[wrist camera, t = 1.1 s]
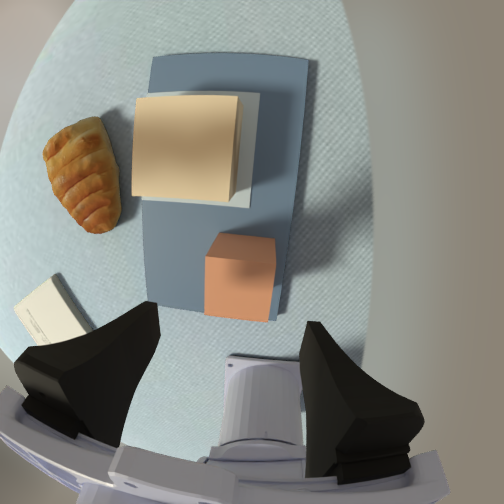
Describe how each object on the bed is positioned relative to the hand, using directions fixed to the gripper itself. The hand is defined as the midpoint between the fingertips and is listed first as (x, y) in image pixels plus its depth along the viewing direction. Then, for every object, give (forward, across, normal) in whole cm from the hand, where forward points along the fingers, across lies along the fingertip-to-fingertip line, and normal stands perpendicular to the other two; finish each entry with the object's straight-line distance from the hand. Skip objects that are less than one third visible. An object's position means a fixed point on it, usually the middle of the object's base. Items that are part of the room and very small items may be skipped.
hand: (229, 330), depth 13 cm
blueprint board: (+9, +2, -5) cm, 11 cm away
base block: (+8, +4, -8) cm, 12 cm away
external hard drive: (+10, +23, +11) cm, 27 cm away
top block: (+8, 0, 0) cm, 8 cm away
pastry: (+10, +13, -6) cm, 18 cm away
